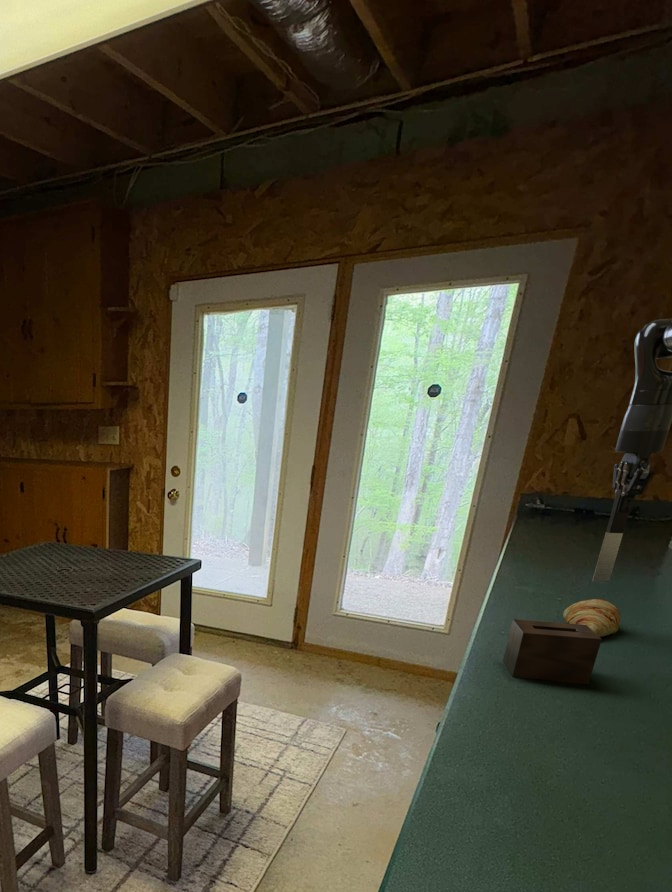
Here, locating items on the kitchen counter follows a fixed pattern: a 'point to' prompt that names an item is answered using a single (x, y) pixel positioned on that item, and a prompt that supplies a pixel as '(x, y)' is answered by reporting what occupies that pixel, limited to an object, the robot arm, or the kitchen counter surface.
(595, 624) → the croissant
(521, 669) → the knife block
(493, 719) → the kitchen counter surface
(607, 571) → the knife
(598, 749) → the kitchen counter surface
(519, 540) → the kitchen counter surface
